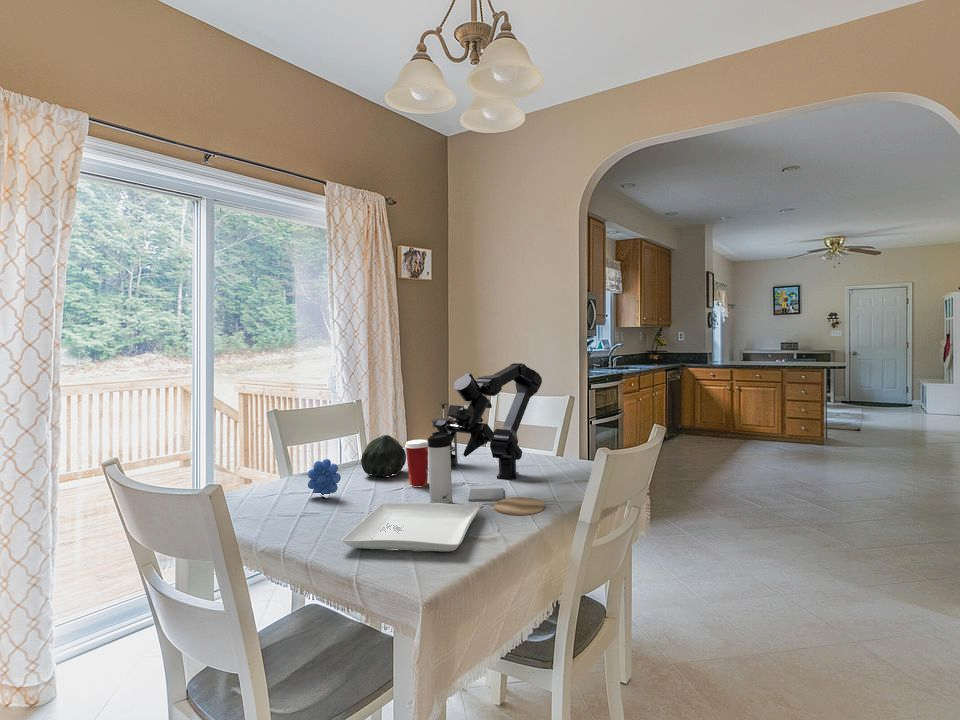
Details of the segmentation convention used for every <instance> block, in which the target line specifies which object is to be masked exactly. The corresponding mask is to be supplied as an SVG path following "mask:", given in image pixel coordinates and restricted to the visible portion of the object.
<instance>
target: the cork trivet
mask: <svg viewBox="0 0 960 720" xmlns="http://www.w3.org/2000/svg"><path fill="white" fill-rule="evenodd" d="M493 508H494V510H495V511H496V512H498V513H500V514H504V515H509V516H510V515H511V516H528V514H530V515H534V513H535V514H538V513H540V512H542V511H544V510H545V509H546V503H545V502H544V501H543V500H541V499H538V498H534V497H524V496H522V497H521V496H519V497H518V496H515V497H507V498H504V499H503V500H497V501H496V502H495V503H494V504H493Z"/></svg>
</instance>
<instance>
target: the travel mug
mask: <svg viewBox="0 0 960 720" xmlns="http://www.w3.org/2000/svg"><path fill="white" fill-rule="evenodd" d="M450 436H451V433H448V434H438V435H433V436H432V435H430V436H429V437H428V438H427V441H428V481H429V485H428V486H429V503H443V504H453V485H452V484H453V483H452V481H453V480H452V468H451V455H450Z"/></svg>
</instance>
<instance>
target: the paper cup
mask: <svg viewBox="0 0 960 720" xmlns="http://www.w3.org/2000/svg"><path fill="white" fill-rule="evenodd" d="M404 447H405V450H406V451H405V454H406V461H407V462H406V463H407V469H408V479H409V480H408V482H409V486H410V485H412V486H424V487H426V486H428V481H429V462H428V439H412V440H408V441H406V442H405V446H404ZM425 485H426V486H425Z"/></svg>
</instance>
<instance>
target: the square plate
mask: <svg viewBox="0 0 960 720" xmlns="http://www.w3.org/2000/svg"><path fill="white" fill-rule="evenodd" d="M480 510H481V505H479V504H478V505H477V504H461V503H460V504H459V503H452V504H443V503H430V502H382V503H381V504H379V505H378V506H377V507H376V508H375V509H373V510H372V511H371V512H370V513H369V514H368V515H366V516H365V517H364V518H363V519H362V520H361V521H360V522H358V523H357V524H356V525H355V526H354V527H353V528H352V529H351V530H349V532H348V533H347V534H346V535H344V537H342V538H341V540H340V542H341V543H344V544H345V545H347V546H348V547H351V548H355V549H368V550H369V549H370V550H373V549H398V550H416V551H415V552H421V551H439V552H454V551H455V550H456V549H458V547H459V546H460V545H461V544H462V542H463V540H464V538H465V536H466V533H467V531H468V529H469V527H470V526H471V524H472V522H473V521H474V519H475V518H476V516H477V515H478V514H479V512H480ZM387 523H389V524H388V525H387ZM386 525H387V526H389V525H390V526H391V525H392V526H391V527H389V528H390V529H391V530H390V529H389V528H388V529H387V528H386V527H387V526H386ZM393 525H394V526H396V525H397V526H398V527H400V528H401V527H402V528H401V529H402V531H399V532H398V531H397V530H396V529H395V530H396V531H397V532H398V533H399V534H398V533H397V532H396V531H394V529H393V527H394V526H393ZM397 526H396V527H397ZM403 526H404V527H403ZM383 527H385V529H386V530H385V529H384V528H383ZM396 527H395V528H396ZM382 528H383V529H384V530H385V531H386V532H385V531H384V530H383V529H382ZM381 529H382V530H383V531H382V530H381ZM401 529H400V530H401ZM380 530H381V532H380ZM403 530H404V531H403ZM374 536H375V537H374ZM371 538H373V539H371Z"/></svg>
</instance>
